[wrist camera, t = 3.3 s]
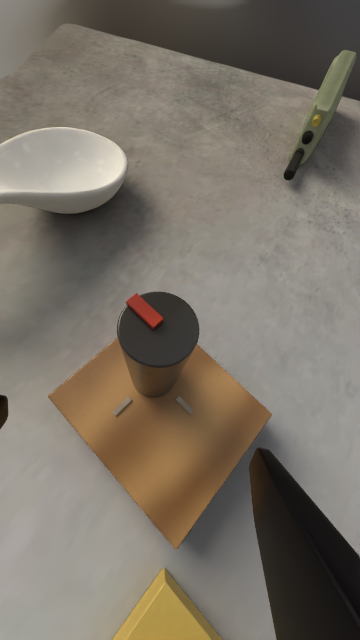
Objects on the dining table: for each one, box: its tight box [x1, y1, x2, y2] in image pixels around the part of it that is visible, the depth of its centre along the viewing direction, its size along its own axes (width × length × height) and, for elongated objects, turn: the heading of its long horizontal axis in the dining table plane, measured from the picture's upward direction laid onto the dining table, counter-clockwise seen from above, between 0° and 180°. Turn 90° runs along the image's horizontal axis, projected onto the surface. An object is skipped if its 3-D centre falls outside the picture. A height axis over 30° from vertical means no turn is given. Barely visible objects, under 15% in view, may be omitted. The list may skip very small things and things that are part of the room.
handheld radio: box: [284, 50, 356, 180], centre depth 34 cm, size 7×3×25 cm
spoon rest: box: [0, 127, 128, 214], centre depth 22 cm, size 24×12×7 cm, turn 155°
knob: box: [117, 292, 199, 398], centre depth 13 cm, size 3×3×9 cm
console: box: [48, 338, 272, 549], centre depth 18 cm, size 12×10×3 cm
